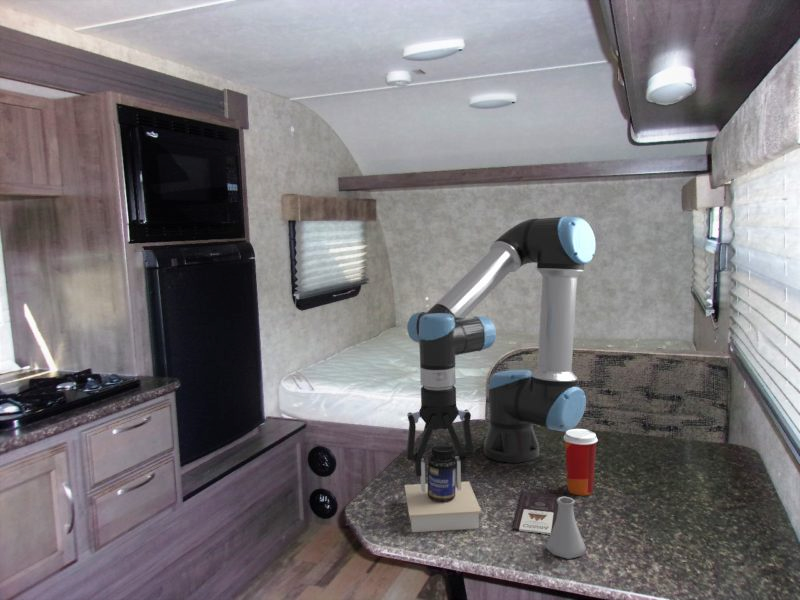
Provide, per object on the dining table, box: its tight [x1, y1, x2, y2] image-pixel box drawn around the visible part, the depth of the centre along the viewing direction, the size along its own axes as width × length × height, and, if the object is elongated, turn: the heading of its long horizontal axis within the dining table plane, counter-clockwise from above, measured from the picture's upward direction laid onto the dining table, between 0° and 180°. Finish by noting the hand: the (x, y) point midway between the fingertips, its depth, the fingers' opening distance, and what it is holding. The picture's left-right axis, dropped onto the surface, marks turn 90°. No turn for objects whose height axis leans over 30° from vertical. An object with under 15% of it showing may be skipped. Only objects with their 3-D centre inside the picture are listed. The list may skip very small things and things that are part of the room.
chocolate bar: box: [512, 491, 563, 536], centre depth 130 cm, size 9×1×18 cm
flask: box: [545, 495, 587, 560], centre depth 114 cm, size 7×7×10 cm
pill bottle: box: [427, 443, 456, 502], centre depth 129 cm, size 6×6×11 cm
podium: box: [404, 481, 482, 533], centre depth 130 cm, size 15×15×4 cm
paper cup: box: [563, 428, 599, 497], centre depth 139 cm, size 8×8×14 cm
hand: (440, 488), depth 130 cm, fingers open, 7 cm apart
